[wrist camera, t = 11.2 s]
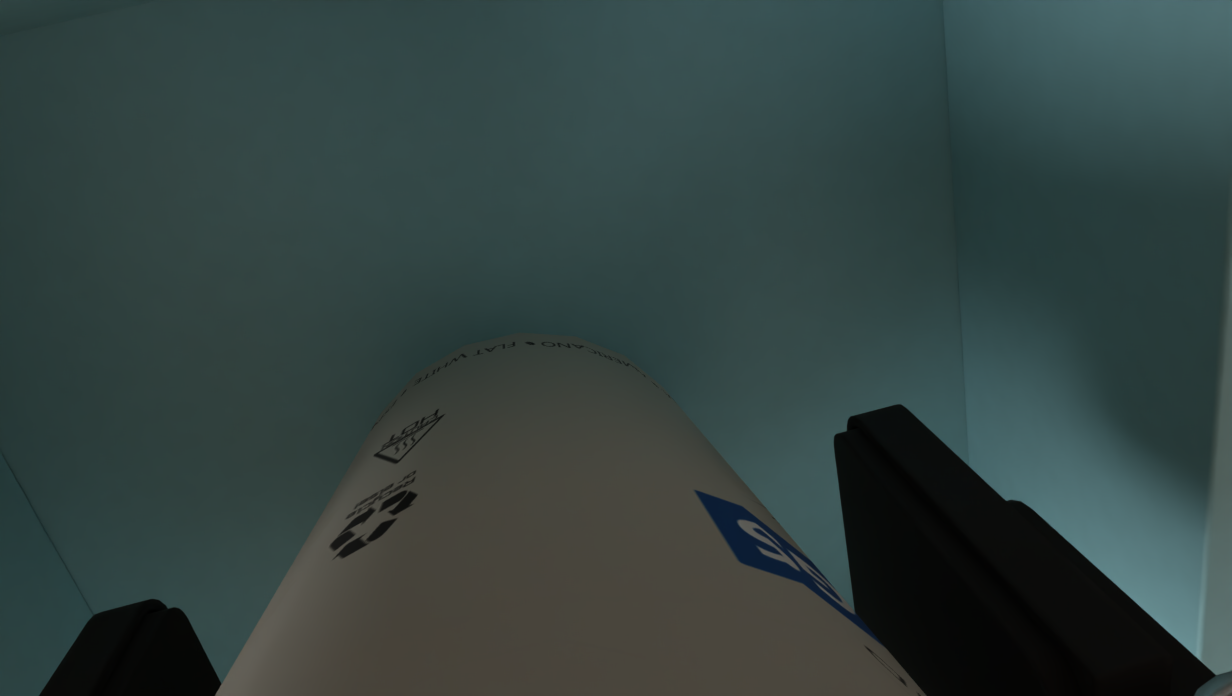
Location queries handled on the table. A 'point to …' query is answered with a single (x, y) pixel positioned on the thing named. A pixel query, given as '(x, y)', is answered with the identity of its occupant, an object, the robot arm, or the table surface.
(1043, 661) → the robot arm
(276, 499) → the open box
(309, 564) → the coffee cup
